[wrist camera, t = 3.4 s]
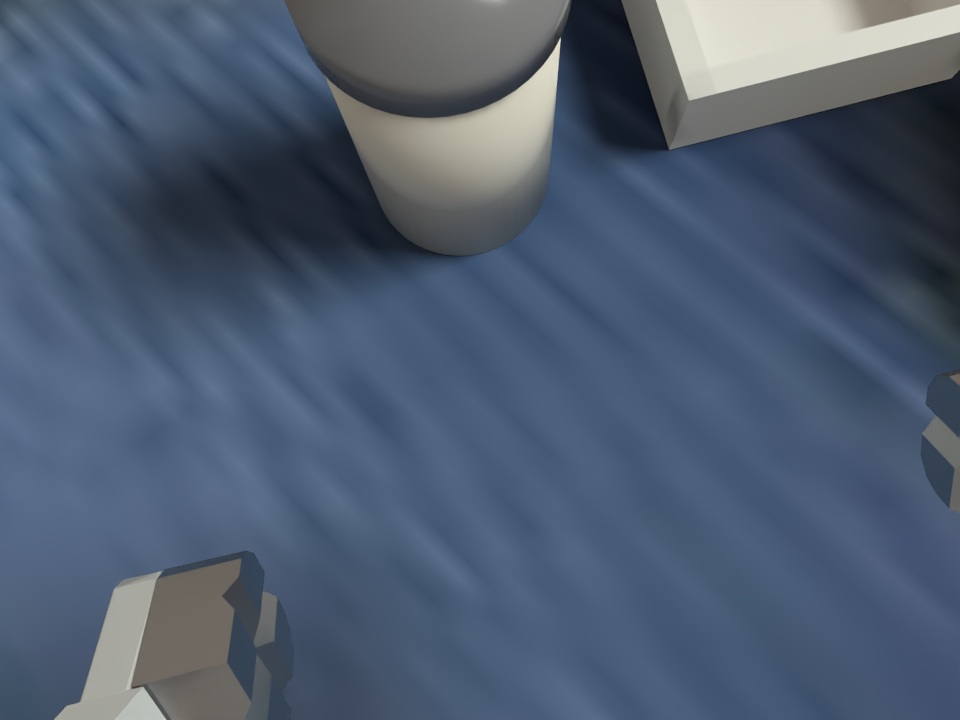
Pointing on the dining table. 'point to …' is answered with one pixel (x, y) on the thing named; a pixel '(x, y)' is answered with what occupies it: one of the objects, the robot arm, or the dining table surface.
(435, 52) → the jar
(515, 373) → the dining table surface
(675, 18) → the pusher lane
